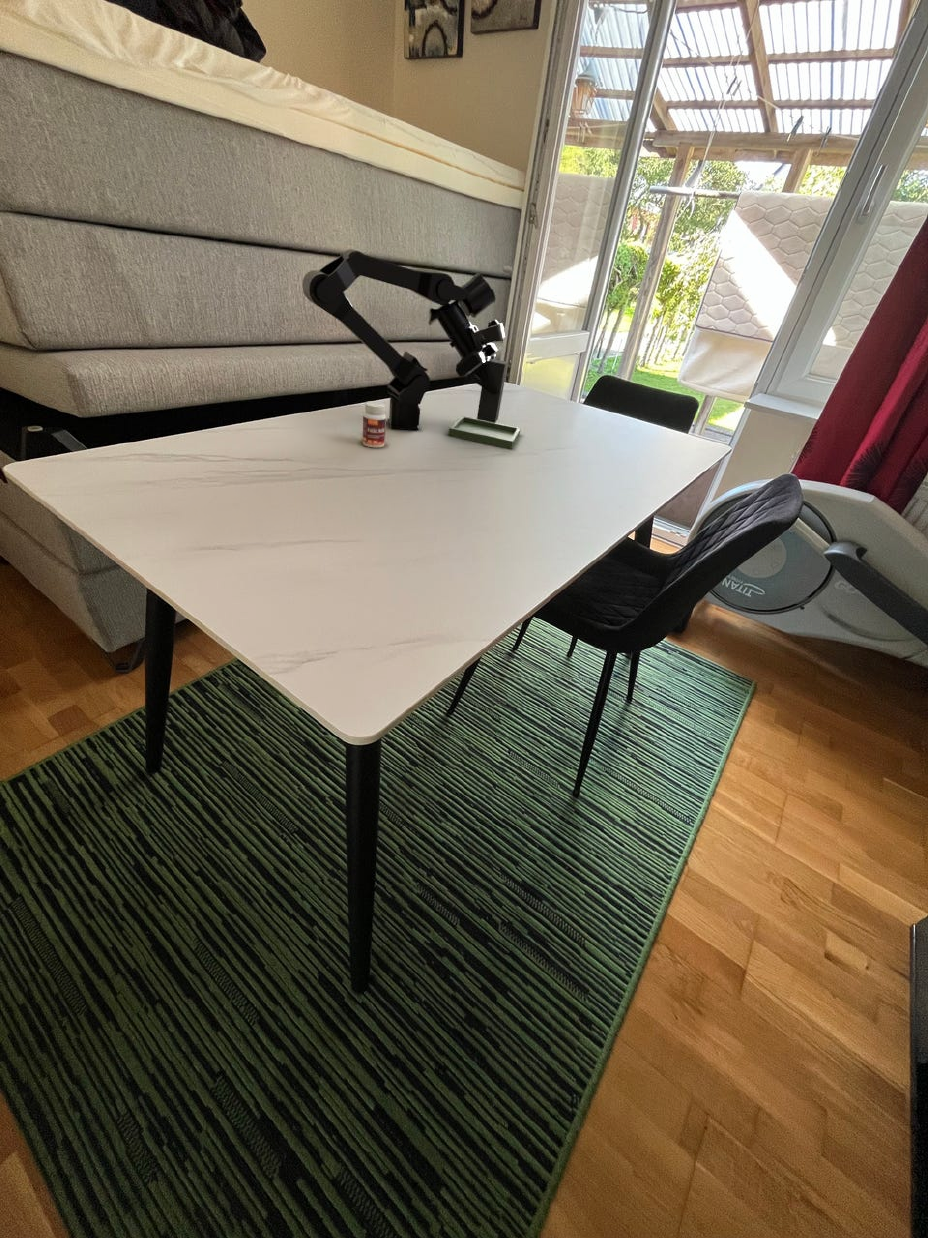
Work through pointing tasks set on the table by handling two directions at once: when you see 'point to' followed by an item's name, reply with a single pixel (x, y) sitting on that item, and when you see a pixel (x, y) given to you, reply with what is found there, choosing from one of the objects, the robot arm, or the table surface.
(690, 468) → the table surface
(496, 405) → the tall black pillar
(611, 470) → the table surface
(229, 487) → the table surface
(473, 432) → the shallow green tray
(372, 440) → the pill bottle
